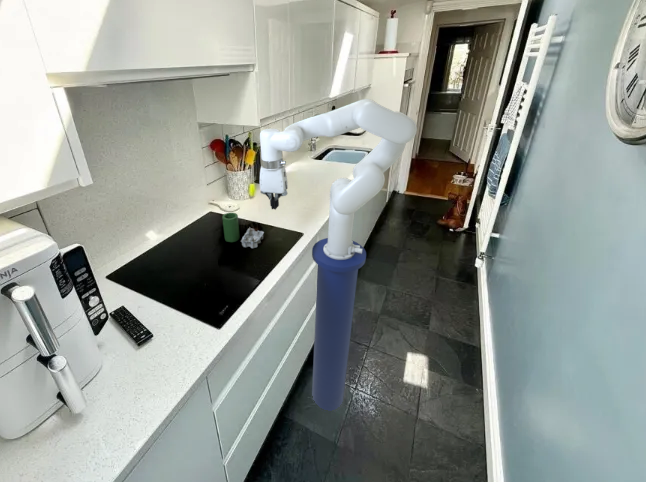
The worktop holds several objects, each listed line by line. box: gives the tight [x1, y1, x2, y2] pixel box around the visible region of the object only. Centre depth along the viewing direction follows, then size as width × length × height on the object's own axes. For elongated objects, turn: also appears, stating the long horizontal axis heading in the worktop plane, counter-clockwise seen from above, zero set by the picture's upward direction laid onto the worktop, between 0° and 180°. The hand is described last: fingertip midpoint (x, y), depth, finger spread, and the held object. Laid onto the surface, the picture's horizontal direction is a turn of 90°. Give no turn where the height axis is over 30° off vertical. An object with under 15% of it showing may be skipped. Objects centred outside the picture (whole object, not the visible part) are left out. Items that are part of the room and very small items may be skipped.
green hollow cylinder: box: [221, 212, 241, 243], centre depth 132 cm, size 6×6×11 cm
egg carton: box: [240, 226, 265, 249], centre depth 130 cm, size 11×8×4 cm
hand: (274, 207), depth 121 cm, fingers closed
